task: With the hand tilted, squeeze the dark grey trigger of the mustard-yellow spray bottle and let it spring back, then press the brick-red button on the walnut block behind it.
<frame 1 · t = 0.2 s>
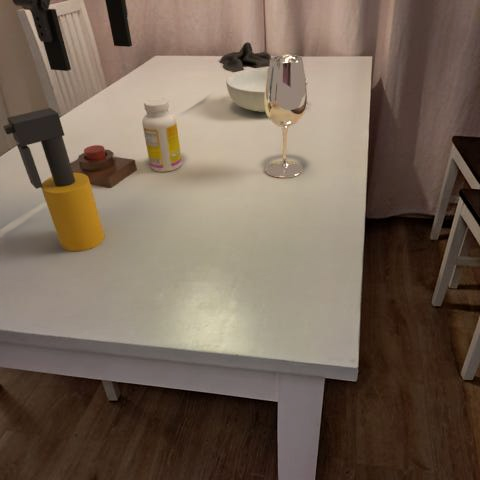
hand: (94, 57, 64), 25 cm above the table, tool pointing down, fingers open, 13 cm apart
cloth: (245, 63, 160), on the table
button: (95, 153, 93), point 4 cm above the table, slide at 0.1 cm
wineglass: (284, 171, 93), on the table
button block: (100, 174, 96), on the table
trigger: (30, 166, 66), point 14 cm above the table, slide at 0.0 cm
supplement bottle: (166, 167, 97), on the table
serving bowl: (267, 108, 124), on the table
spray bottle: (82, 239, 76), on the table
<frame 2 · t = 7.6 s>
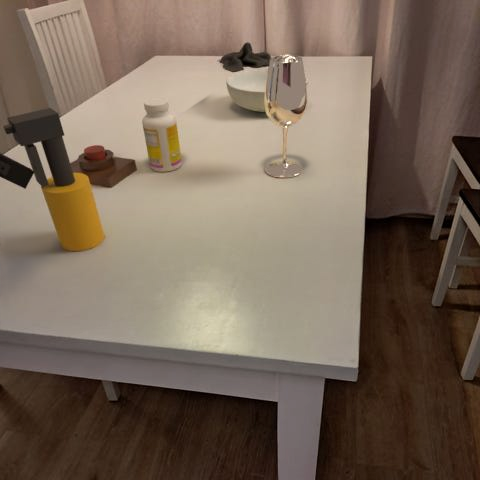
hand: (28, 178, 66), 12 cm above the table, tool tilted 45°, fingers closed
trigger: (36, 164, 66), point 14 cm above the table, slide at 0.9 cm, touching gripper
everything else where it was.
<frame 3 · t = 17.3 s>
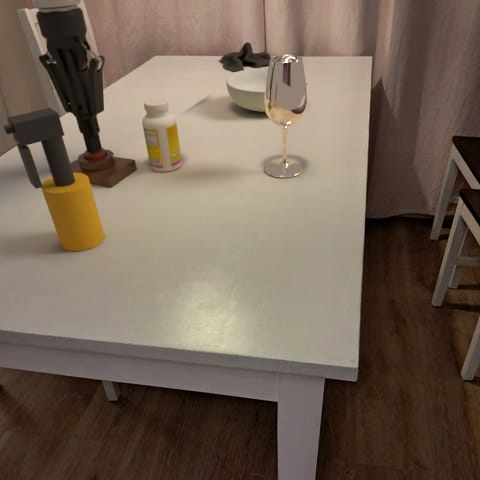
hand: (94, 149, 92), 5 cm above the table, tool pointing down, fingers closed
button: (95, 155, 93), point 4 cm above the table, slide at -0.3 cm, touching gripper
trigger: (29, 166, 66), point 14 cm above the table, slide at 0.0 cm
everything else where it was.
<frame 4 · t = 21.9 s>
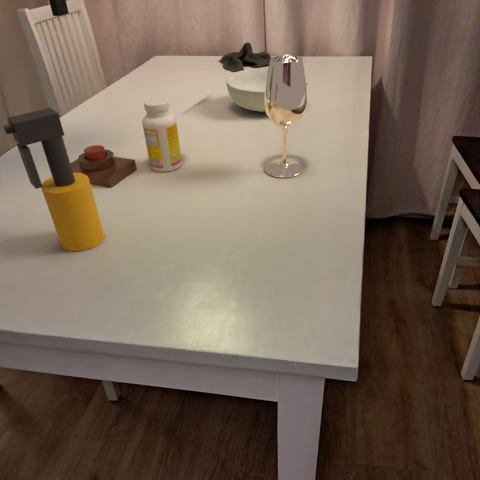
hand: (61, 14, 87), 26 cm above the table, tool pointing down, fingers closed
button: (95, 153, 93), point 4 cm above the table, slide at 0.1 cm
everything else where it was.
at the end: trigger pulled out 2.0 cm at the most during the clip, back to where it started at the end; button pushed in 1.0 cm at the most during the clip, back to where it started at the end; button slide at 0.1 cm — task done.
